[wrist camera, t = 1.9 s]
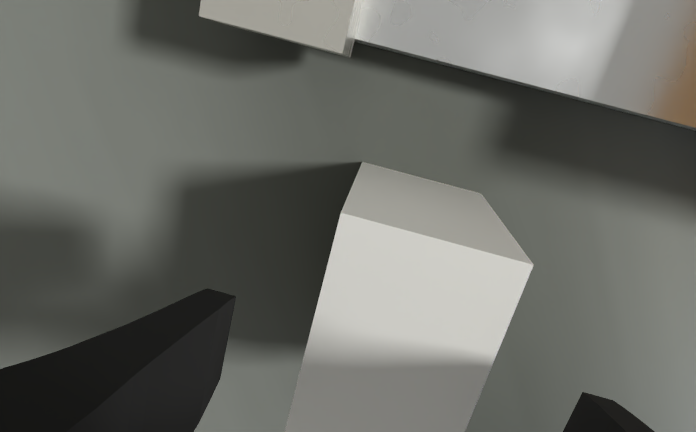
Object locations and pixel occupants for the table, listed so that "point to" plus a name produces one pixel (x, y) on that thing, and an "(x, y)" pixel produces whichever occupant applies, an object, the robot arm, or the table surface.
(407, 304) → the block
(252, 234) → the table surface
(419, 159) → the table surface
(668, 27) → the mounting rail
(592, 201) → the table surface
